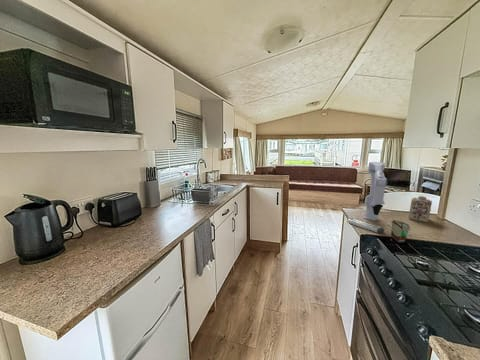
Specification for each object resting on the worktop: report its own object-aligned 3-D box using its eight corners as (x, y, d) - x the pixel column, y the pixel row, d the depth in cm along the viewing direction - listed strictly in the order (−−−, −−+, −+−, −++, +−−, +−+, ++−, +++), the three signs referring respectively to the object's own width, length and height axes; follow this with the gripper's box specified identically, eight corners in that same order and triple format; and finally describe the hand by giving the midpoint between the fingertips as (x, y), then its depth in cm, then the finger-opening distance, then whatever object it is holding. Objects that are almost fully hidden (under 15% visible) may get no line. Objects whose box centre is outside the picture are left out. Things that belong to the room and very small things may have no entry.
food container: (412, 245, 116) (415, 228, 115) (400, 243, 117) (403, 227, 116) (400, 235, 128) (403, 220, 126) (389, 234, 129) (392, 219, 128)
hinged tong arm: (348, 221, 149) (349, 218, 149) (350, 221, 150) (350, 217, 150) (382, 232, 131) (383, 228, 131) (384, 232, 132) (384, 228, 132)
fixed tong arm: (348, 222, 149) (348, 218, 149) (381, 233, 131) (382, 229, 130) (347, 222, 148) (347, 219, 148) (380, 234, 130) (381, 230, 130)
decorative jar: (428, 219, 161) (432, 197, 158) (428, 223, 152) (432, 199, 149) (409, 215, 169) (412, 194, 166) (407, 218, 160) (411, 196, 157)
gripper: (380, 198, 132) (377, 218, 134) (390, 195, 139) (387, 214, 142) (368, 195, 137) (365, 215, 140) (378, 193, 145) (376, 211, 148)
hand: (375, 214), depth 141 cm, fingers closed
